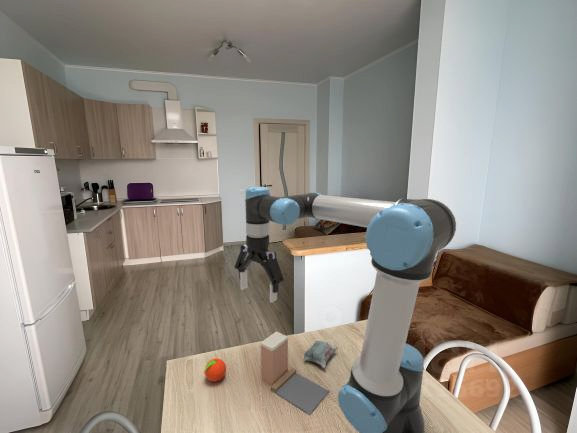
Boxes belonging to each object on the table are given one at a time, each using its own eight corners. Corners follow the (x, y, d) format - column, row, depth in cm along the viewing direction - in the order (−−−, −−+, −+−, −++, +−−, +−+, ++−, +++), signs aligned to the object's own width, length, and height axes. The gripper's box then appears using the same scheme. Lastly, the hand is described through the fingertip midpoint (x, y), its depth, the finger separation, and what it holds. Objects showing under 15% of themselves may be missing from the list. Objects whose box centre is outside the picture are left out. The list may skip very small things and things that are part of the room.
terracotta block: (287, 373, 102) (287, 336, 99) (272, 387, 96) (272, 348, 93) (276, 366, 105) (276, 331, 102) (261, 379, 99) (260, 342, 96)
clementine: (210, 391, 94) (209, 372, 92) (198, 381, 98) (197, 362, 97) (230, 377, 100) (229, 359, 98) (218, 368, 104) (217, 350, 103)
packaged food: (338, 354, 112) (338, 342, 111) (324, 372, 102) (324, 360, 101) (317, 346, 116) (317, 335, 115) (302, 363, 107) (302, 351, 106)
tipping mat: (329, 391, 94) (329, 387, 93) (309, 415, 85) (309, 410, 85) (291, 371, 103) (291, 367, 102) (270, 390, 94) (270, 386, 94)
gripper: (295, 239, 91) (294, 301, 96) (239, 226, 106) (240, 280, 111) (280, 245, 86) (279, 311, 90) (223, 230, 100) (225, 287, 105)
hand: (258, 294), depth 100 cm, fingers open, 13 cm apart
